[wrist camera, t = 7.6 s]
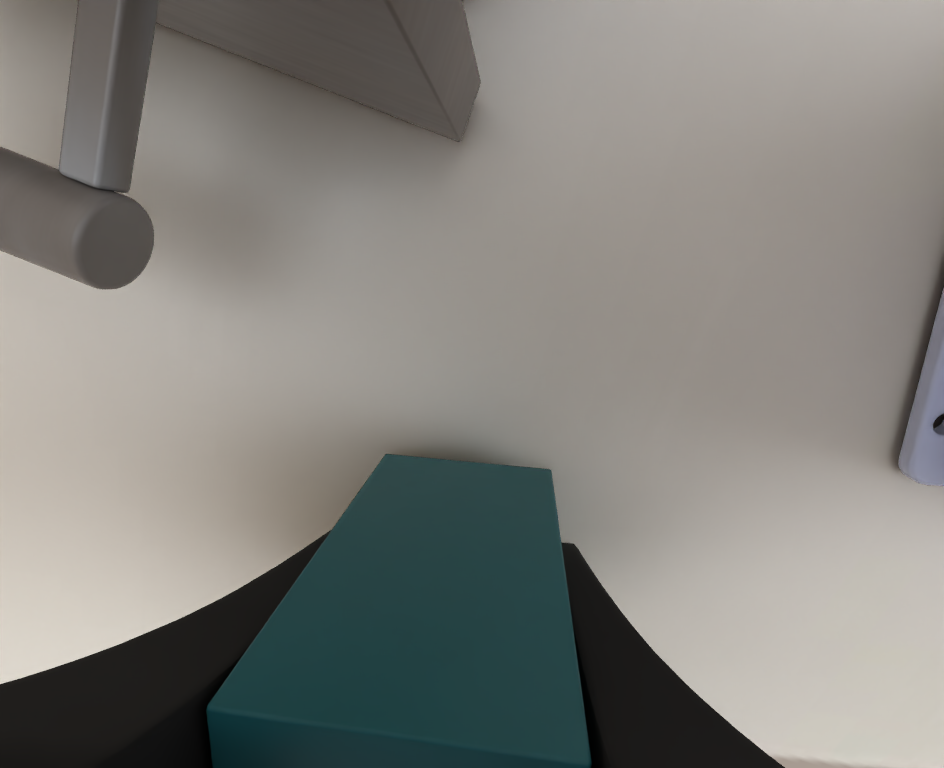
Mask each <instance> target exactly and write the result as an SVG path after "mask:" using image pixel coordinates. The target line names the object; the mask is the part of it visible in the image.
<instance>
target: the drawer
mask: <svg viewBox="0 0 944 768" xmlns="http://www.w3.org/2000/svg"><path fill="white" fill-rule="evenodd" d="M156 23H158V24H161V25H163V26H166V27H168V28H171V29H173V30H176V31H178V32H181V33H184V34H186V35H189V36H191V37H194V38H196V39H199V40H201V41H204V42H206V43H209V44H211V45H214V46H217V47H219V48H222V49H224V50H227V51H229V52H232V53H234V54H237V55H239V56H242V57H244V58H247V59H249V60H252V61H255V62H257V63H260V64H262V65H265V66H267V67H270V68H272V69H275V70H277V71H280V72H282V73H285V74H288V75H290V76H293V77H295V78H298V79H300V80H303V81H305V82H308V83H310V84H313V85H315V86H318V87H321V88H323V89H326V90H328V91H331V92H333V93H336V94H338V95H341V96H343V97H346V98H348V99H351V100H354V101H356V102H359V103H361V104H364V105H366V106H369V107H371V108H374V109H376V110H379V111H381V112H384V113H386V114H389V115H392V116H394V117H397V118H399V119H402V120H404V121H407V122H409V123H412V124H414V125H417V126H419V127H422V128H425V129H427V130H430V131H432V132H435V133H437V134H440V135H442V136H445V137H447V138H450V139H452V140H455V141H458V142H460V141H461V140H462V137H463V134H464V131H465V128H466V125H467V122H468V120H469V117H470V114H471V111H472V108H473V105H474V102H475V99H476V96H477V93H478V90H479V87H480V84H481V80H480V76H479V72H478V67H477V63H476V59H475V54H474V50H473V46H472V41H471V37H470V33H469V28H468V24H467V20H466V15H465V11H464V7H463V2H462V0H78V7H77V16H76V24H75V33H74V42H73V50H72V59H71V68H70V76H69V85H68V94H67V102H66V111H65V120H64V128H63V137H62V146H61V154H60V163H59V170H58V169H56V168H53V167H51V166H48V165H46V164H43V163H41V162H38V161H36V160H33V159H31V158H28V157H26V156H23V155H20V154H18V153H15V152H13V151H10V150H8V149H5V148H3V147H0V250H1V251H3V252H6V253H8V254H11V255H13V256H16V257H18V258H21V259H23V260H26V261H28V262H31V263H33V264H36V265H38V266H41V267H43V268H46V269H49V270H51V271H54V272H56V273H59V274H61V275H64V276H66V277H69V278H71V279H74V280H76V281H79V282H81V283H84V284H86V285H89V286H91V287H94V288H97V289H117V288H120V287H123V286H125V285H127V284H129V283H131V282H132V281H133V280H135V279H136V278H137V277H138V276H139V275H140V274H141V272H142V271H143V270H144V268H145V267H146V265H147V263H148V261H149V259H150V257H151V254H152V250H153V245H154V230H153V225H152V222H151V219H150V217H149V215H148V213H147V212H146V211H145V209H144V208H143V207H142V206H141V205H140V204H139V203H137V202H136V201H135V200H133V199H131V198H129V197H127V196H124V195H122V194H119V193H117V192H121V193H126V192H128V191H129V190H130V184H131V178H132V171H133V165H134V159H135V152H136V146H137V140H138V133H139V127H140V120H141V114H142V108H143V101H144V95H145V89H146V82H147V76H148V69H149V63H150V57H151V50H152V44H153V38H154V31H155V25H156ZM114 191H115V192H114Z"/></svg>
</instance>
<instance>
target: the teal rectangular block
mask: <svg viewBox="0 0 944 768" xmlns="http://www.w3.org/2000/svg"><path fill="white" fill-rule="evenodd" d="M206 714H207V723H208V732H209V741H210V750H211V759H212V768H591V765H592V761H591V754H590V747H589V739H588V732H587V725H586V718H585V710H584V703H583V696H582V689H581V681H580V674H579V667H578V660H577V653H576V645H575V638H574V631H573V624H572V616H571V609H570V602H569V595H568V587H567V580H566V573H565V566H564V558H563V551H562V544H561V537H560V530H559V522H558V515H557V508H556V501H555V493H554V486H553V479H552V472H551V470H550V469H541V468H531V467H520V466H509V465H499V464H488V463H477V462H467V461H456V460H446V459H435V458H424V457H414V456H403V455H392V454H385V456H384V457H383V458H382V460H381V461H380V463H379V464H378V465H377V467H376V468H375V470H374V471H373V472H372V474H371V475H370V477H369V478H368V480H367V481H366V482H365V484H364V485H363V487H362V488H361V489H360V491H359V492H358V494H357V495H356V496H355V498H354V499H353V501H352V502H351V504H350V505H349V506H348V508H347V509H346V511H345V512H344V513H343V515H342V516H341V518H340V519H339V520H338V522H337V523H336V525H335V526H334V528H333V529H332V530H331V532H330V533H329V535H328V536H327V537H326V539H325V540H324V542H323V543H322V544H321V546H320V547H319V549H318V550H317V552H316V553H315V554H314V556H313V557H312V559H311V560H310V561H309V563H308V564H307V566H306V567H305V568H304V570H303V571H302V573H301V574H300V576H299V577H298V578H297V580H296V581H295V583H294V584H293V585H292V587H291V588H290V590H289V591H288V592H287V594H286V595H285V597H284V598H283V600H282V601H281V602H280V604H279V605H278V607H277V608H276V609H275V611H274V612H273V614H272V615H271V616H270V618H269V619H268V621H267V622H266V624H265V625H264V626H263V628H262V629H261V631H260V632H259V633H258V635H257V636H256V638H255V639H254V640H253V642H252V643H251V645H250V646H249V648H248V649H247V650H246V652H245V653H244V655H243V656H242V657H241V659H240V660H239V662H238V663H237V664H236V666H235V667H234V669H233V670H232V672H231V673H230V674H229V676H228V677H227V679H226V680H225V681H224V683H223V684H222V686H221V687H220V688H219V690H218V691H217V693H216V694H215V696H214V697H213V698H212V700H211V701H210V703H209V704H208V706H207V709H206Z"/></svg>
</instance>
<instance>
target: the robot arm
mask: <svg viewBox="0 0 944 768" xmlns="http://www.w3.org/2000/svg"><path fill="white" fill-rule="evenodd" d="M941 414H944V288H943V291H942V295H941V299H940V303H939V307H938V311H937V314H936V318H935V322H934V326H933V330H932V334H931V337H930V341H929V345H928V349H927V353H926V357H925V360H924V364H923V368H922V372H921V376H920V379H919V383H918V387H917V391H916V395H915V399H914V402H913V406H912V410H911V414H910V418H909V422H908V425H907V429H906V433H905V437H904V441H903V445H902V448H901V452H900V456H899V468H900V470H901V472H902V473H903V474H904V475H906V476H907V477H909V478H910V479H912V480H914V481H916V482H918V483H921V484H925V485H937V486H944V420H943V422H942V423H941V425H939V426H938V427H936V428H934V429H933V423H934V421H935V419H936V418H937V417H938V416H940V415H941ZM330 532H331V530H330V531H329V532H327V533H326V534H325V535H323V536H322V537H320V538H319V539H317V540H316V541H314V542H313V543H311V544H310V545H308V546H307V547H305V548H304V549H302V550H301V551H299V552H298V553H296V554H295V555H293V556H292V557H290V558H289V559H287V560H286V561H284V562H283V563H281V564H279V565H278V566H276V567H274V568H273V569H271V570H269V571H268V572H266V573H264V574H263V575H261V576H259V577H258V578H256V579H254V580H253V581H251V582H249V583H248V584H246V585H244V586H243V587H241V588H239V589H238V590H236V591H234V592H232V593H230V594H228V595H227V596H225V597H223V598H221V599H219V600H217V601H215V602H213V603H211V604H209V605H207V606H205V607H203V608H201V609H199V610H197V611H195V612H193V613H191V614H189V615H187V616H185V617H183V618H180V619H178V620H176V621H174V622H171V623H169V624H167V625H164V626H162V627H160V628H157V629H155V630H153V631H150V632H148V633H145V634H143V635H141V636H138V637H136V638H134V639H131V640H129V641H126V642H124V643H122V644H119V645H117V646H114V647H111V648H109V649H106V650H103V651H100V652H98V653H95V654H92V655H90V656H87V657H84V658H81V659H78V660H75V661H73V662H70V663H67V664H64V665H61V666H58V667H55V668H52V669H49V670H46V671H43V672H40V673H36V674H33V675H30V676H27V677H24V678H21V679H17V680H14V681H10V682H7V683H3V684H0V768H212V759H211V750H210V741H209V732H208V723H207V714H206V709H207V706H208V704H209V703H210V701H211V700H212V698H213V697H214V696H215V694H216V693H217V691H218V690H219V688H220V687H221V686H222V684H223V683H224V681H225V680H226V679H227V677H228V676H229V674H230V673H231V672H232V670H233V669H234V667H235V666H236V664H237V663H238V662H239V660H240V659H241V657H242V656H243V655H244V653H245V652H246V650H247V649H248V648H249V646H250V645H251V643H252V642H253V640H254V639H255V638H256V636H257V635H258V633H259V632H260V631H261V629H262V628H263V626H264V625H265V624H266V622H267V621H268V619H269V618H270V616H271V615H272V614H273V612H274V611H275V609H276V608H277V607H278V605H279V604H280V602H281V601H282V600H283V598H284V597H285V595H286V594H287V592H288V591H289V590H290V588H291V587H292V585H293V584H294V583H295V581H296V580H297V578H298V577H299V576H300V574H301V573H302V571H303V570H304V568H305V567H306V566H307V564H308V563H309V561H310V560H311V559H312V557H313V556H314V554H315V553H316V552H317V550H318V549H319V547H320V546H321V544H322V543H323V542H324V540H325V539H326V537H327V536H328V535H329V533H330ZM561 544H562V551H563V558H564V566H565V573H566V580H567V587H568V595H569V602H570V609H571V616H572V624H573V631H574V638H575V645H576V653H577V660H578V667H579V674H580V681H581V689H582V696H583V703H584V710H585V718H586V725H587V732H588V739H589V747H590V754H591V761H592V765H591V768H785V767H783V766H782V765H781V764H779V763H778V762H777V761H776V760H774V759H773V758H772V757H770V756H769V755H768V754H766V753H765V752H764V751H763V750H761V749H760V748H759V747H758V746H756V745H755V744H754V743H753V742H751V741H750V740H749V739H748V738H747V737H745V736H744V735H743V734H742V733H740V732H739V731H738V730H737V729H736V728H734V727H733V726H732V725H731V724H730V723H729V722H728V721H726V720H725V719H724V718H723V717H722V716H721V715H720V714H718V713H717V712H716V711H715V710H714V709H713V708H712V707H710V706H709V705H708V704H707V703H706V702H705V701H704V700H703V699H701V698H700V697H699V696H698V695H697V694H696V693H695V692H694V691H693V690H692V689H691V688H690V687H689V686H688V685H687V684H686V683H685V682H684V681H683V680H682V679H681V678H680V677H679V676H678V675H677V674H676V673H675V672H674V671H673V670H672V669H671V668H670V667H669V666H668V665H667V664H666V663H665V662H664V661H663V660H662V659H661V658H660V657H659V656H658V655H657V654H656V653H655V652H654V651H653V650H652V648H651V647H650V646H649V645H648V644H647V643H646V641H645V640H644V639H643V638H642V637H641V636H640V634H639V633H638V632H637V631H636V630H635V628H634V627H633V626H632V625H631V624H630V622H629V621H628V620H627V618H626V617H625V616H624V615H623V613H622V612H621V611H620V609H619V608H618V607H617V605H616V604H615V603H614V601H613V600H612V599H611V597H610V596H609V595H608V593H607V592H606V591H605V589H604V588H603V586H602V585H601V583H600V582H599V581H598V579H597V578H596V576H595V575H594V573H593V572H592V570H591V569H590V567H589V566H588V564H587V562H586V561H585V559H584V558H583V556H582V555H581V553H580V551H579V550H578V548H577V547H576V546H575V545H574V544H571V543H562V542H561Z"/></svg>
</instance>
